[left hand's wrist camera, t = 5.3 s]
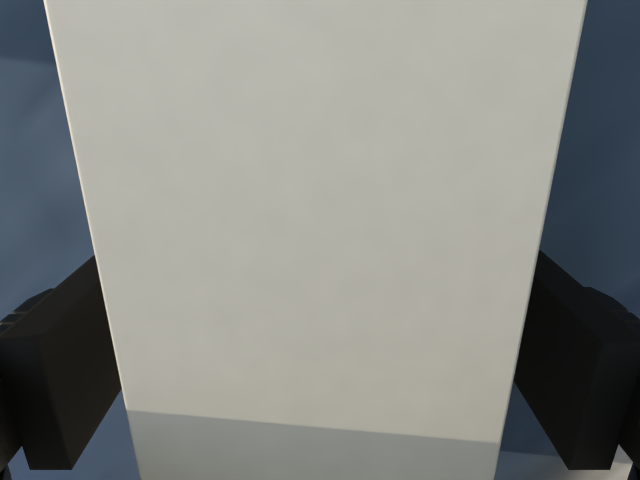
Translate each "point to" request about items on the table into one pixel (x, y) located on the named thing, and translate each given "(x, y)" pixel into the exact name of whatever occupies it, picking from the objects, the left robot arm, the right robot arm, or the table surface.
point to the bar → (316, 222)
